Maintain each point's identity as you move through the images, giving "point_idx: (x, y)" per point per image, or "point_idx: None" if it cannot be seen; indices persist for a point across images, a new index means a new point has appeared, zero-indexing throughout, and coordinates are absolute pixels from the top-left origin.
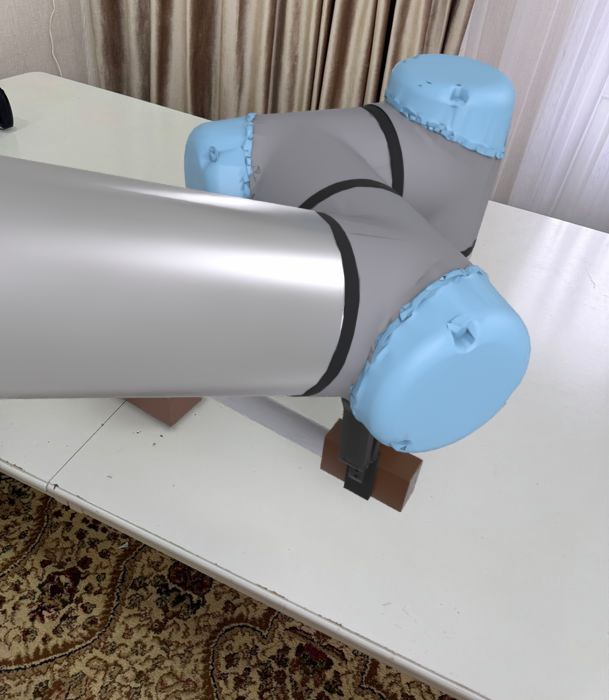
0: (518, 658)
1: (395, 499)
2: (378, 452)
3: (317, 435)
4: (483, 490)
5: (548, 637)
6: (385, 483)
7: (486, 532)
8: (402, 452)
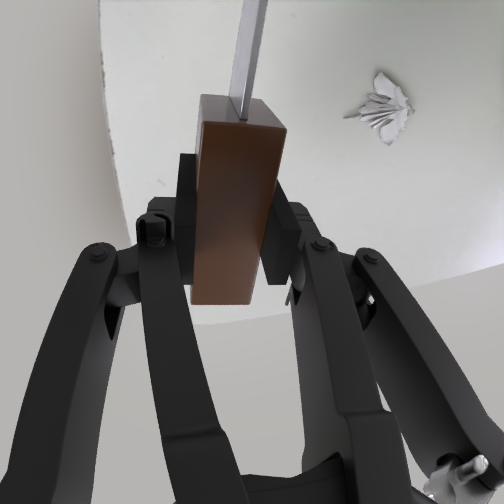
0: None
1: None
2: (190, 280)
3: (240, 77)
4: (342, 222)
5: None
6: None
7: None
8: (249, 276)
